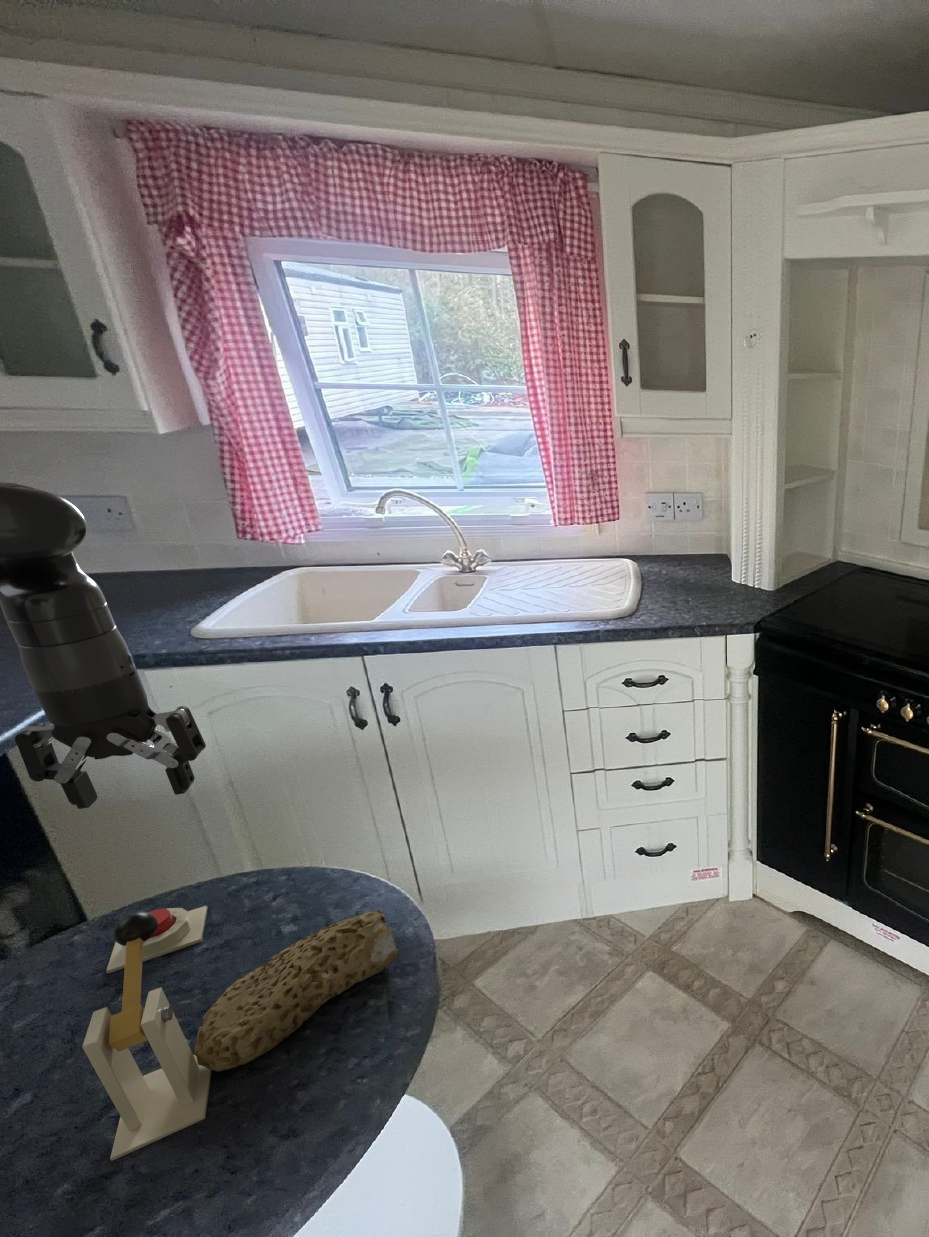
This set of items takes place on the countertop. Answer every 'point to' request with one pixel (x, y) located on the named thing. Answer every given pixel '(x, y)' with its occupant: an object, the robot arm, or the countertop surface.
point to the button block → (167, 937)
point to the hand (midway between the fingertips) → (137, 797)
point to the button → (162, 921)
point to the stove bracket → (149, 1078)
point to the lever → (131, 979)
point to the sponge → (292, 989)
